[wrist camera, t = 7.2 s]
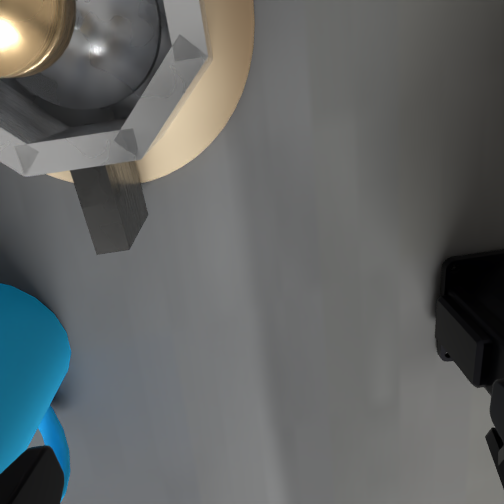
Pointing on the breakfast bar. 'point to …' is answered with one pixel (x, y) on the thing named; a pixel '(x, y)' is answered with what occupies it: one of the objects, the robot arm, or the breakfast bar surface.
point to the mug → (30, 376)
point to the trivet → (205, 92)
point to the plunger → (79, 48)
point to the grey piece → (109, 129)
